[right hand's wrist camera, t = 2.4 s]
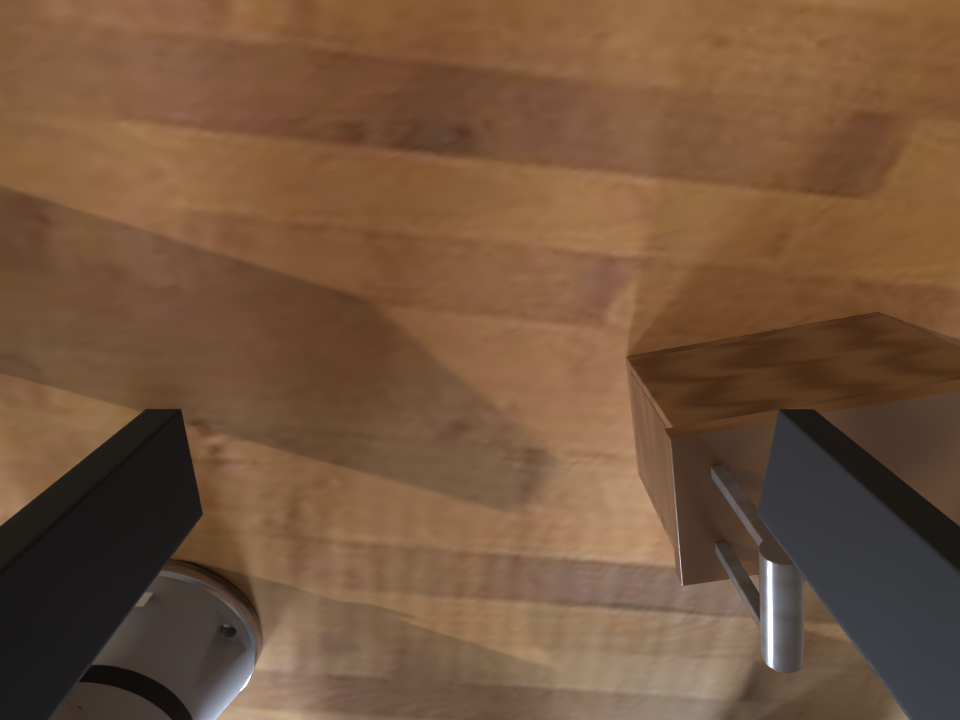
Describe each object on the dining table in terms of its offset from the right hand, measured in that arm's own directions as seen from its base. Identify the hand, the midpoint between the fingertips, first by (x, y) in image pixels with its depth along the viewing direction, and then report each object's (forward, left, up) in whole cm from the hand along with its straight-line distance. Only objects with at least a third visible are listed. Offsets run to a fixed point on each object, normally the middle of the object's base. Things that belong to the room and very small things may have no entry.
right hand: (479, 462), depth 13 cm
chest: (-2, -22, -26) cm, 35 cm away
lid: (-2, -22, -16) cm, 27 cm away
